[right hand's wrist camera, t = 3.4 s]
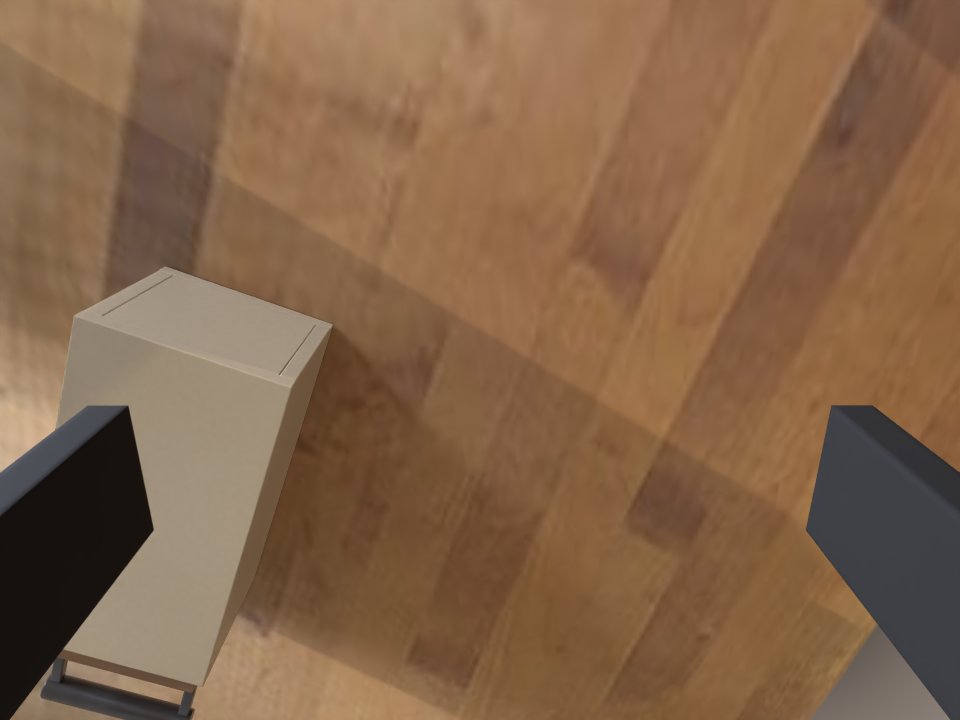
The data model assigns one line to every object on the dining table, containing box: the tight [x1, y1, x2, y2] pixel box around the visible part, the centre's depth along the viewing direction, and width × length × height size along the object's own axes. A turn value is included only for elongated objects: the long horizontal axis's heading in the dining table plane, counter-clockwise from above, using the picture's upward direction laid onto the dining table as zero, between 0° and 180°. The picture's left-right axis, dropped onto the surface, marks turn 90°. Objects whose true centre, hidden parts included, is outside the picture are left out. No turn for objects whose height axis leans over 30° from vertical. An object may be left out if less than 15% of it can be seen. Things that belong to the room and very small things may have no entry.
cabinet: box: [55, 267, 333, 687], centre depth 38 cm, size 19×10×9 cm, turn 159°
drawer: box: [40, 650, 197, 720], centre depth 40 cm, size 24×9×8 cm, turn 159°
